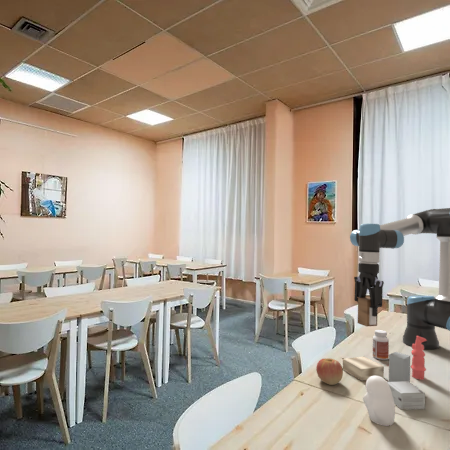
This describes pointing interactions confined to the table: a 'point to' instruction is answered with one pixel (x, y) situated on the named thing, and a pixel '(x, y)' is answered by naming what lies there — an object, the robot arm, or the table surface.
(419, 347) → the figurine
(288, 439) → the table surface
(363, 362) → the birch base
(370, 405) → the figurine
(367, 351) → the table surface
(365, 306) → the walnut pillar
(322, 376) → the apple
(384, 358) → the pill bottle
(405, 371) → the slate pillar
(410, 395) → the small box
